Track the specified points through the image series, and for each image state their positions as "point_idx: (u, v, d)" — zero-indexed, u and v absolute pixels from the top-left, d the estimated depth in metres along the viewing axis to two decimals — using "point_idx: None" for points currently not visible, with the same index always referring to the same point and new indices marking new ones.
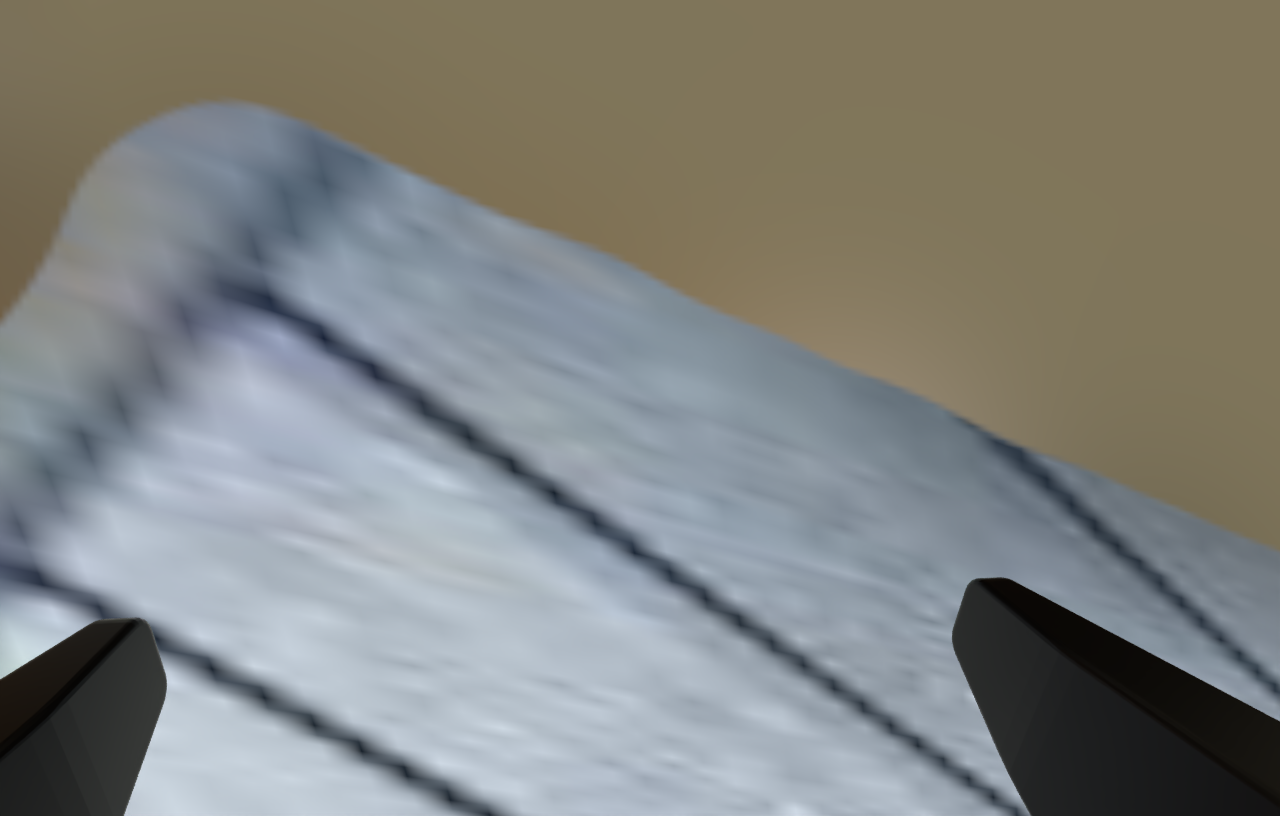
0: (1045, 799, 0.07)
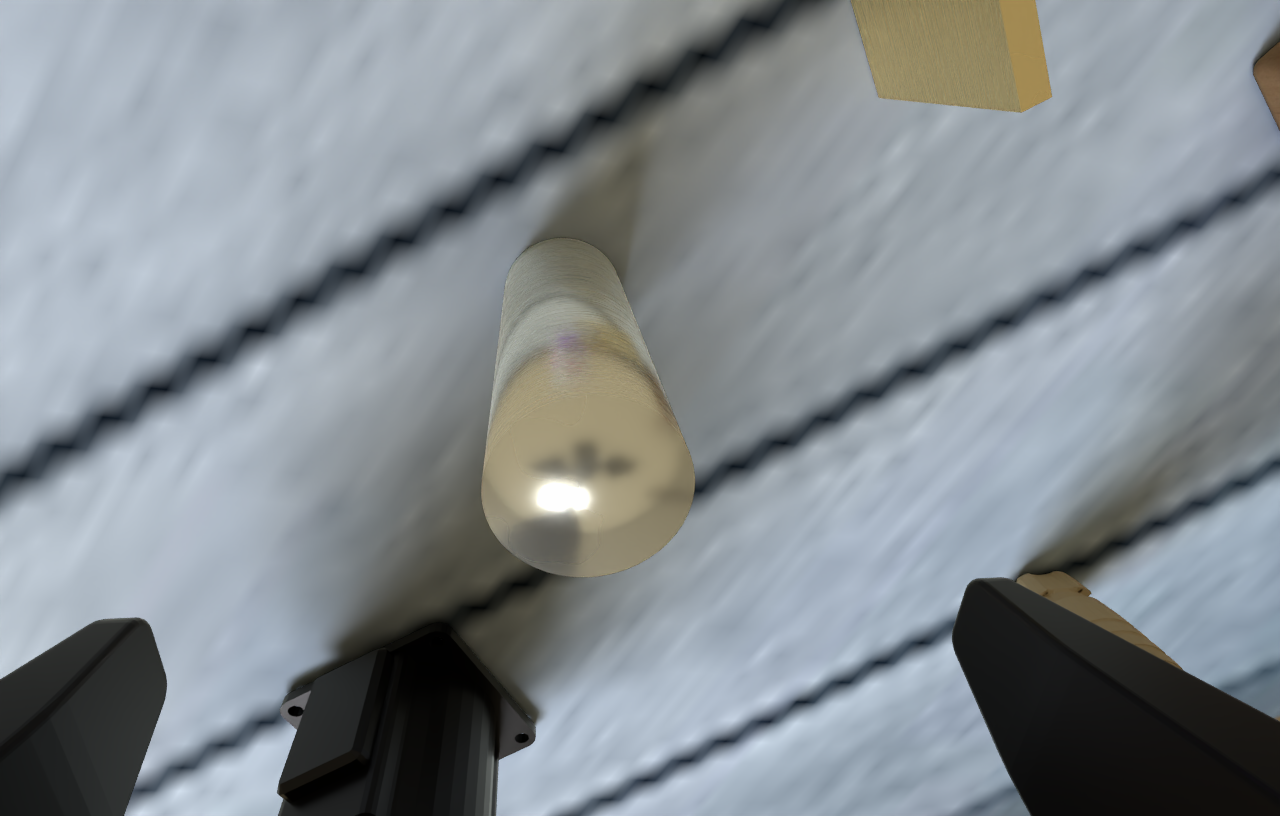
0: (1045, 799, 0.07)
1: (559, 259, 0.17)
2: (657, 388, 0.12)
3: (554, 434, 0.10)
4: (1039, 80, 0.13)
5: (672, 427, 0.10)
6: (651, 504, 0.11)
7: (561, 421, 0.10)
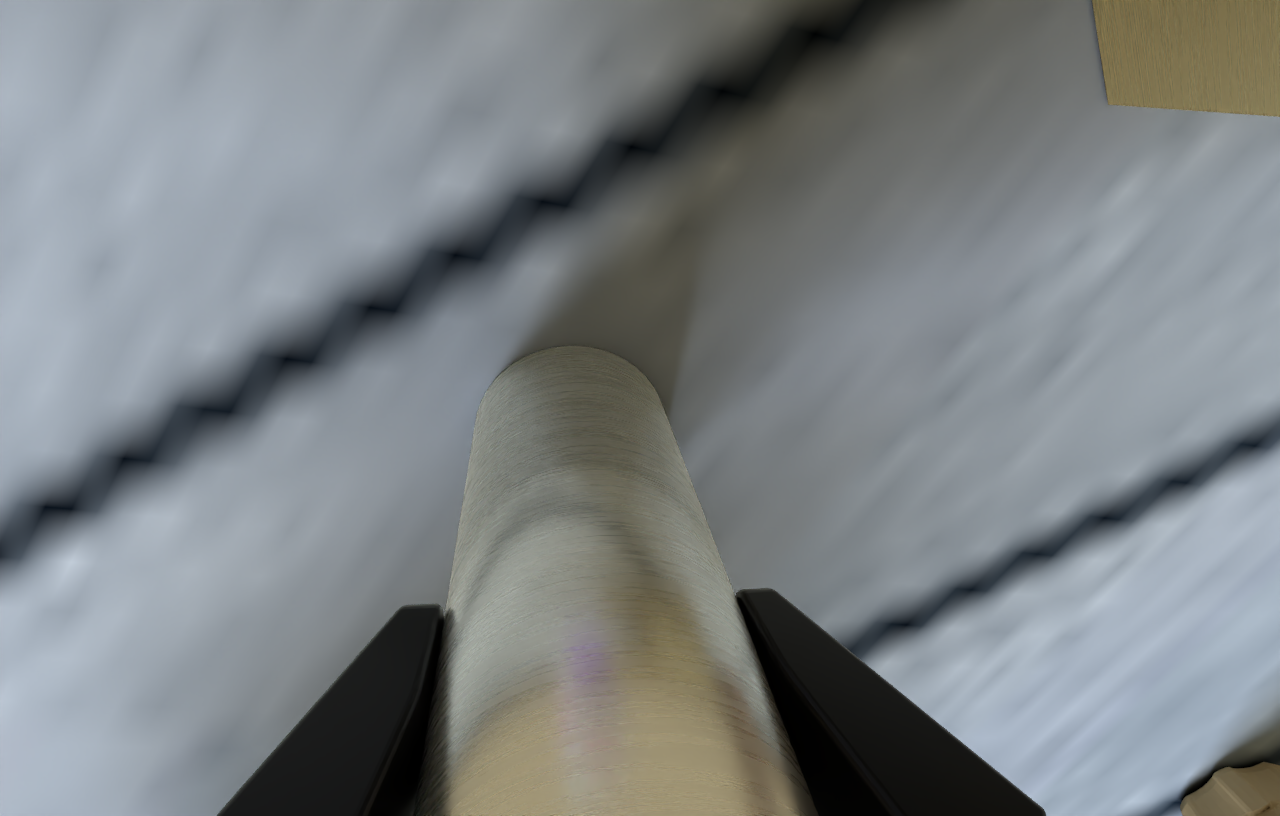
0: None
1: (565, 409, 0.09)
2: None
3: None
4: None
5: None
6: None
7: None
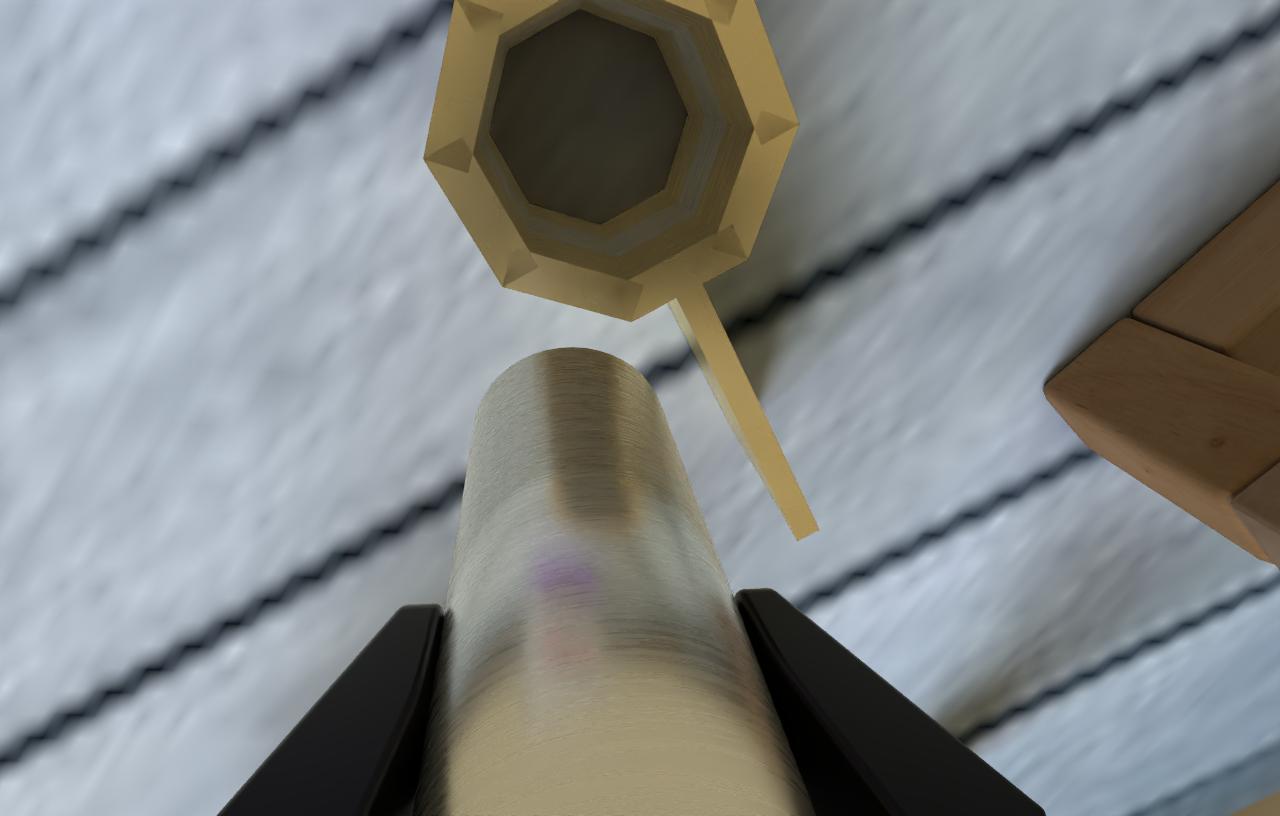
0: None
1: (564, 412, 0.09)
2: None
3: None
4: (807, 521, 0.17)
5: None
6: None
7: None
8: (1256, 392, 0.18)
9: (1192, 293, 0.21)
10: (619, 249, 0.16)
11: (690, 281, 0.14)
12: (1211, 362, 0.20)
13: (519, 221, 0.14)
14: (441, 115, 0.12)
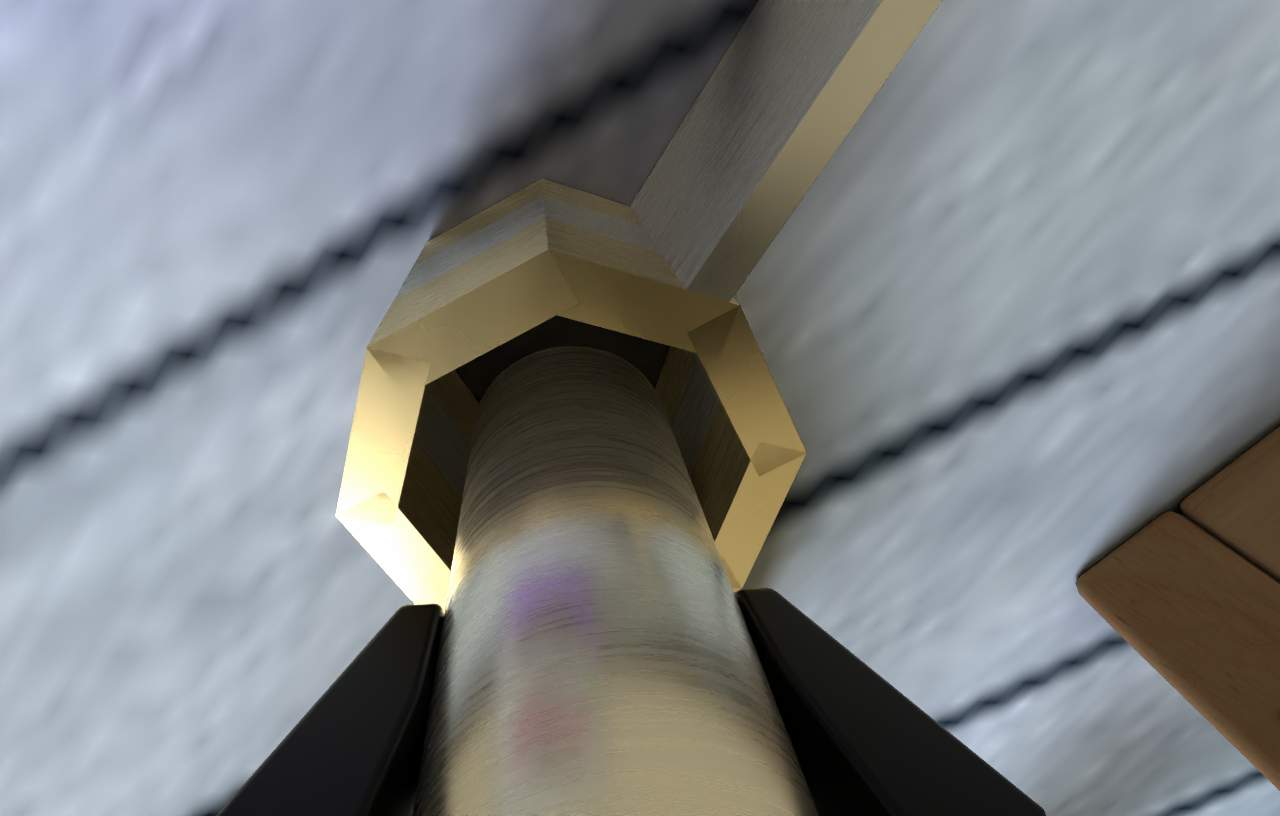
0: None
1: (565, 410, 0.09)
2: None
3: None
4: None
5: None
6: None
7: None
8: None
9: (1251, 499, 0.19)
10: None
11: None
12: (1276, 601, 0.17)
13: None
14: (356, 470, 0.10)
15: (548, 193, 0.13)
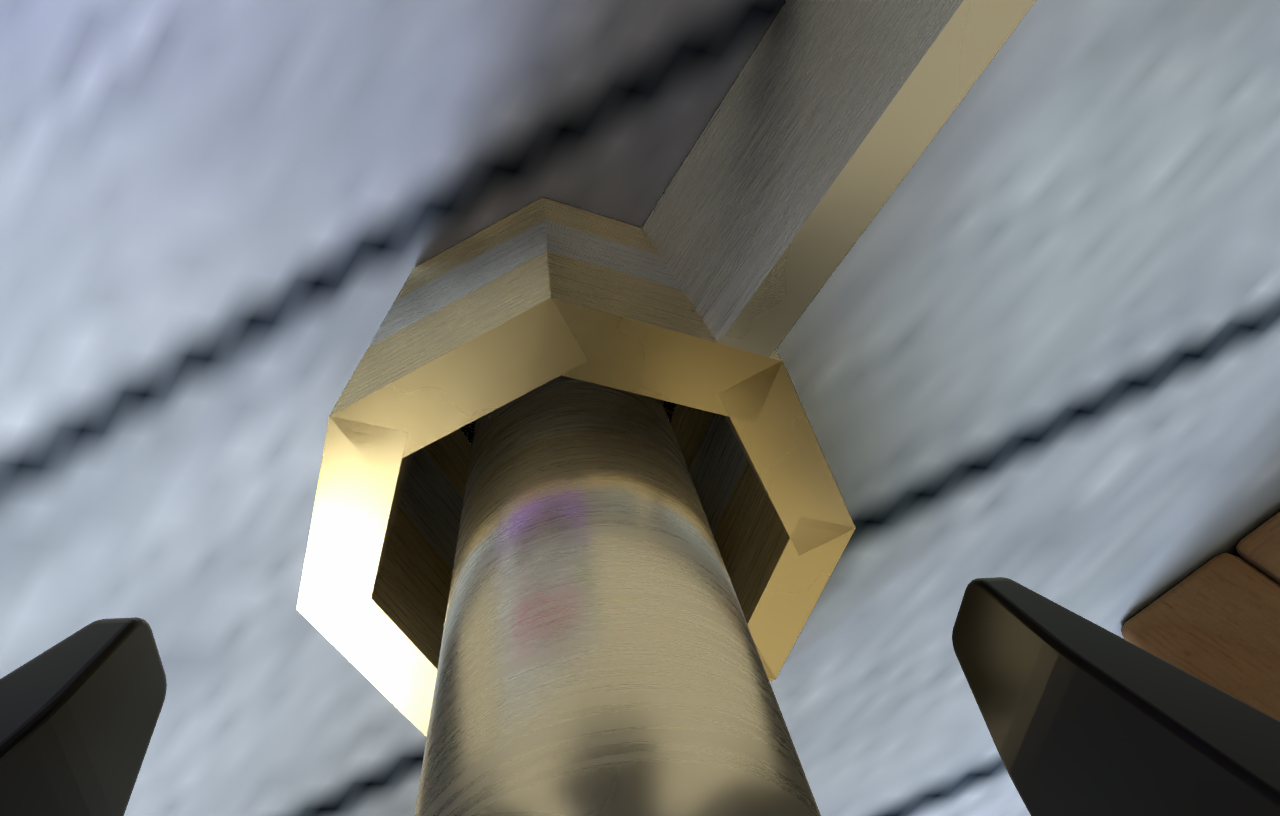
0: (1046, 799, 0.07)
1: None
2: (745, 655, 0.06)
3: None
4: None
5: (798, 801, 0.05)
6: None
7: (566, 812, 0.05)
8: None
9: None
10: None
11: None
12: None
13: None
14: (320, 557, 0.08)
15: (550, 217, 0.11)
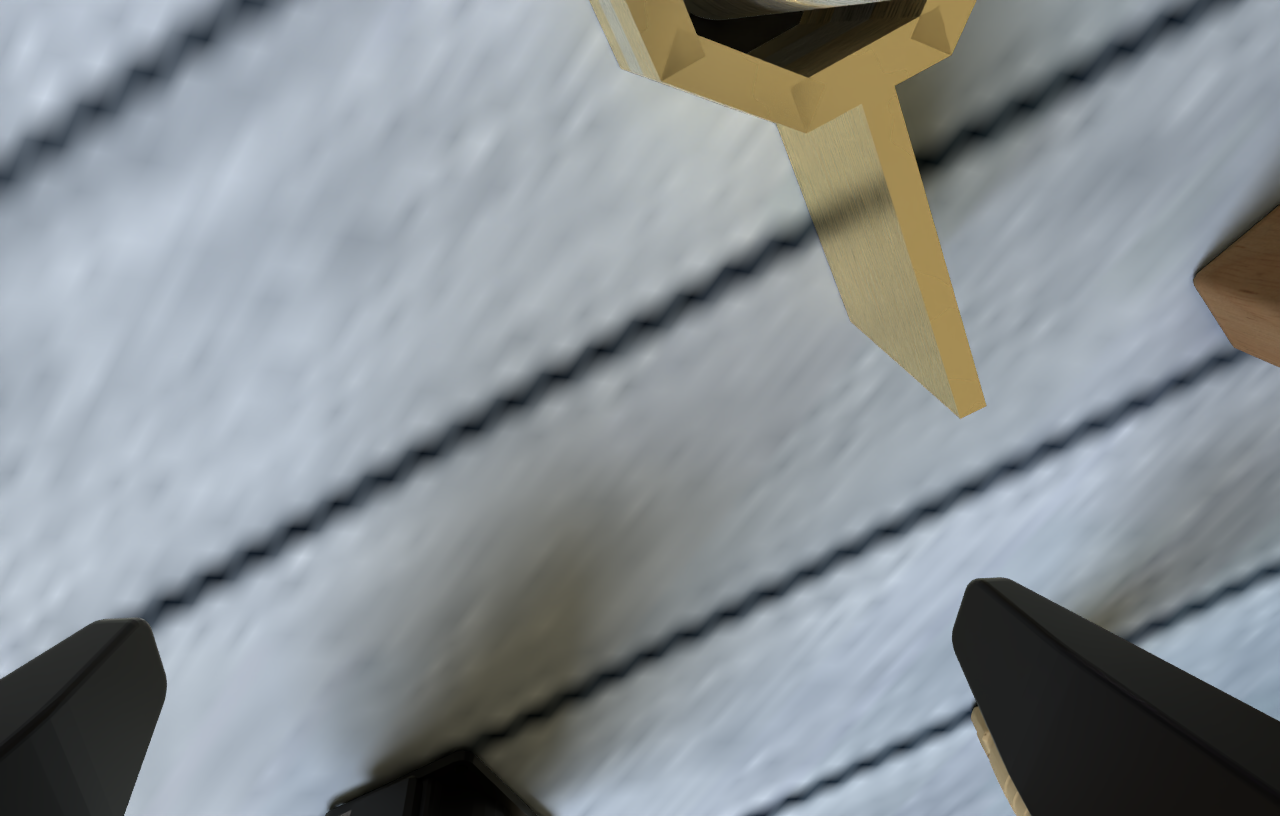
0: (1045, 799, 0.07)
1: None
2: None
3: None
4: (975, 395, 0.15)
5: None
6: None
7: None
8: None
9: None
10: None
11: (880, 82, 0.12)
12: None
13: None
14: None
15: None
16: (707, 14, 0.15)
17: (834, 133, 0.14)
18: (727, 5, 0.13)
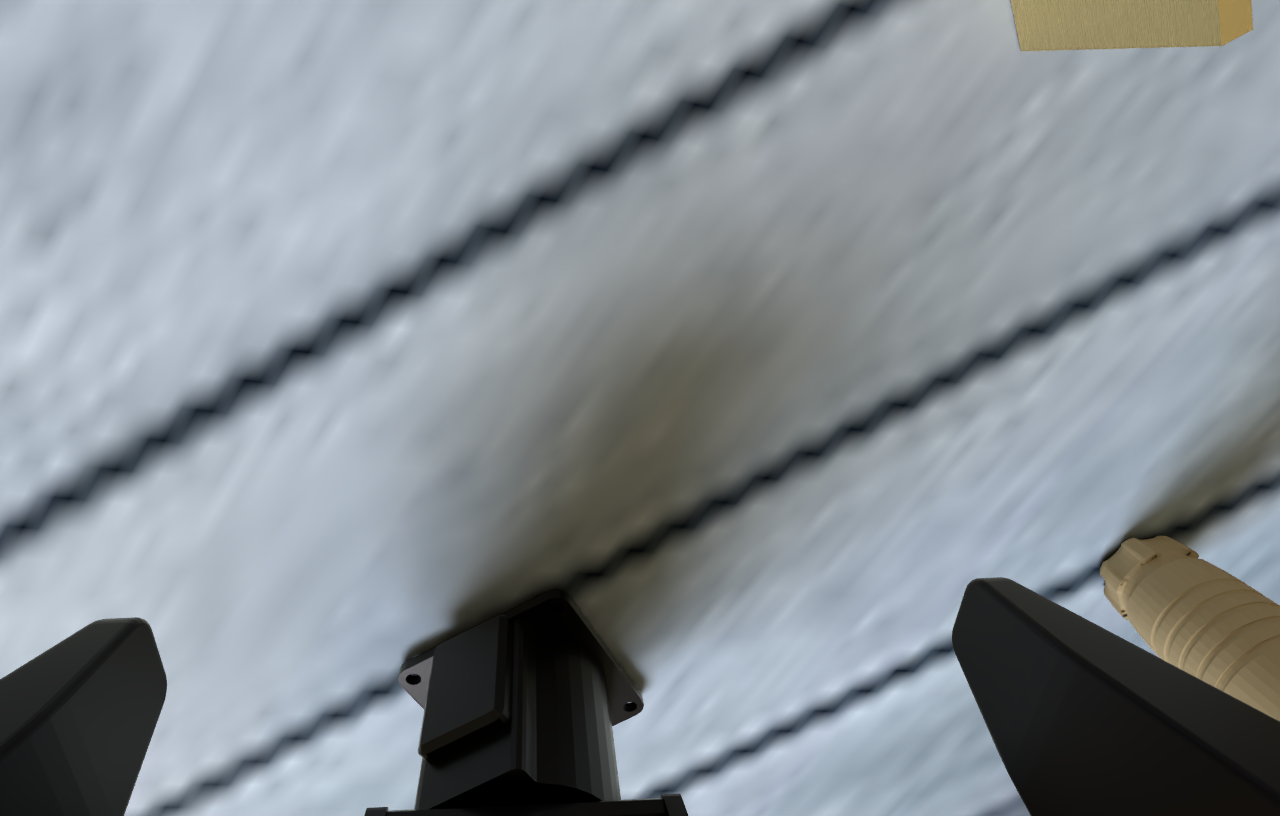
0: (1045, 799, 0.07)
1: None
2: None
3: None
4: (1242, 12, 0.13)
5: None
6: None
7: None
8: None
9: None
10: None
11: None
12: None
13: None
14: None
15: None
16: None
17: None
18: None
